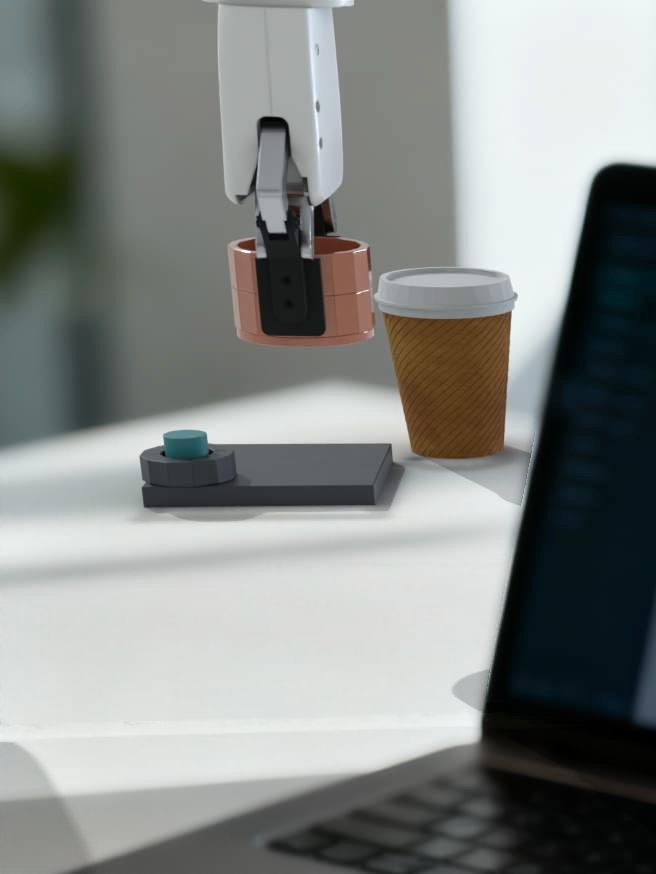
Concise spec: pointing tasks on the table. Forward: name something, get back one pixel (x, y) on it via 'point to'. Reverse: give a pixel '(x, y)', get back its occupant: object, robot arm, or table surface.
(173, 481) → the dark grey flat block
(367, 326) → the pink cylindrical container
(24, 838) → the table surface
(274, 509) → the table surface
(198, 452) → the button
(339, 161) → the robot arm
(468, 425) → the disposable coffee cup
